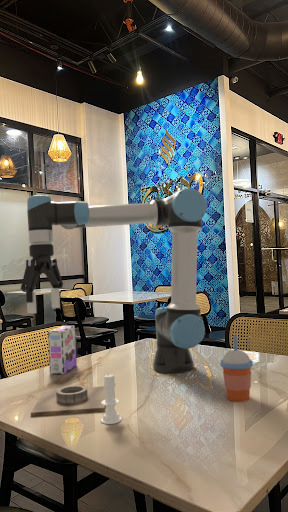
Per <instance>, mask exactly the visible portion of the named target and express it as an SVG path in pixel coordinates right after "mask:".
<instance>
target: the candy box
mask: <svg viewBox="0 0 288 512" xmlns="http://www.w3.org/2000/svg"><path fill="white" fill-rule="evenodd" d="M47 338H48V339H47V340H48V341H47V342H48V359H49V360H48V361H49V362H48V363H49V375H65V374H67V373H68V372H70V370H73V368H75V367H76V365H77V364H78V363H77V362H78V360H77V347H76V346H77V344H76V326H75V325H61V326H59V327H55V328H54V329H51V330H48V331H47ZM77 366H78V365H77Z"/></svg>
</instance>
